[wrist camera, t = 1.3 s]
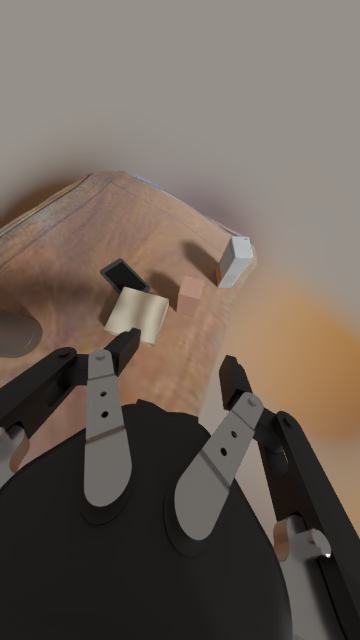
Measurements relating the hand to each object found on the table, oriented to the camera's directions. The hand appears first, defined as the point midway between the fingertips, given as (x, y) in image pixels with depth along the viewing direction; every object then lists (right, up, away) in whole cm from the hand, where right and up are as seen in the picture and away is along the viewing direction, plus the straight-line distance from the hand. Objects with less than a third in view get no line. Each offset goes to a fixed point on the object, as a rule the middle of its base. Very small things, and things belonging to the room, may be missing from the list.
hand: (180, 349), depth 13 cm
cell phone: (-15, +14, +27) cm, 34 cm away
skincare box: (+13, +15, +29) cm, 35 cm away
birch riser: (-10, +3, +23) cm, 26 cm away
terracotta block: (+2, +6, +25) cm, 26 cm away
